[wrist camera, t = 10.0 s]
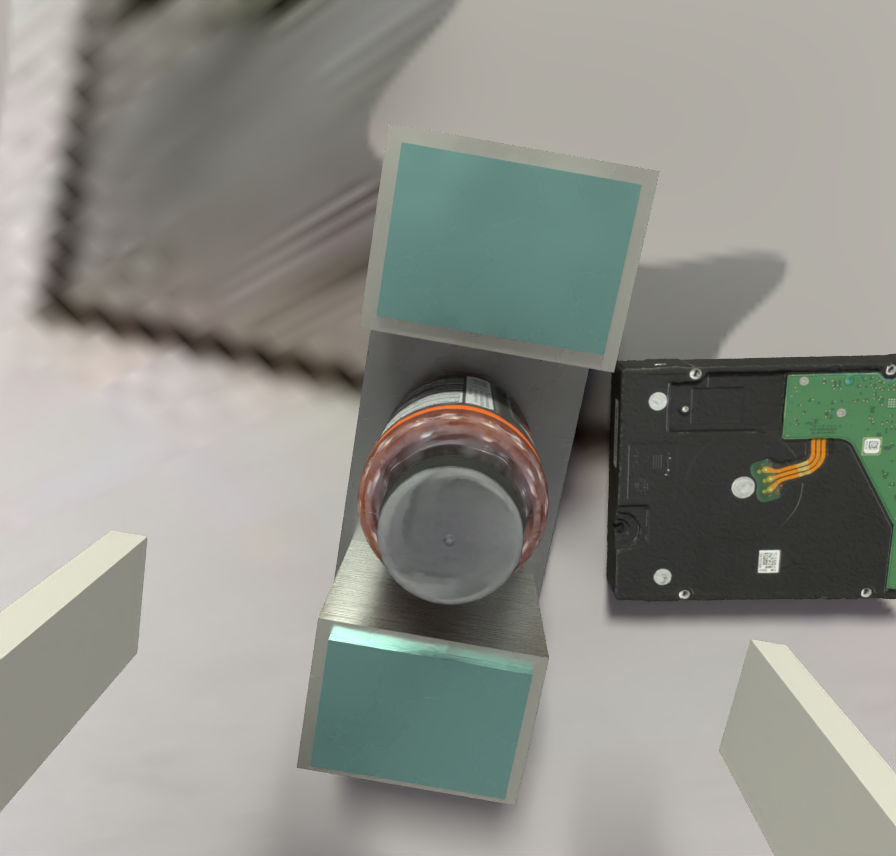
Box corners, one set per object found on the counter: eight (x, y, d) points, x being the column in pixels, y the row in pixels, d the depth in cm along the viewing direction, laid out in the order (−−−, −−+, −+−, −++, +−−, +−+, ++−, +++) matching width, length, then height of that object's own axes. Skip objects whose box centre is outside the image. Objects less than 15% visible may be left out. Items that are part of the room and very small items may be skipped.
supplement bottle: (540, 495, 31) (577, 627, 20) (402, 517, 31) (364, 658, 20) (517, 357, 30) (543, 416, 18) (374, 382, 30) (316, 454, 19)
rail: (513, 685, 35) (527, 827, 26) (327, 652, 35) (278, 784, 26) (622, 185, 29) (684, 154, 21) (402, 145, 29) (372, 99, 21)
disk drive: (604, 578, 34) (932, 572, 33) (614, 606, 31) (972, 601, 30) (606, 358, 32) (959, 346, 31) (617, 367, 29) (1006, 355, 28)
